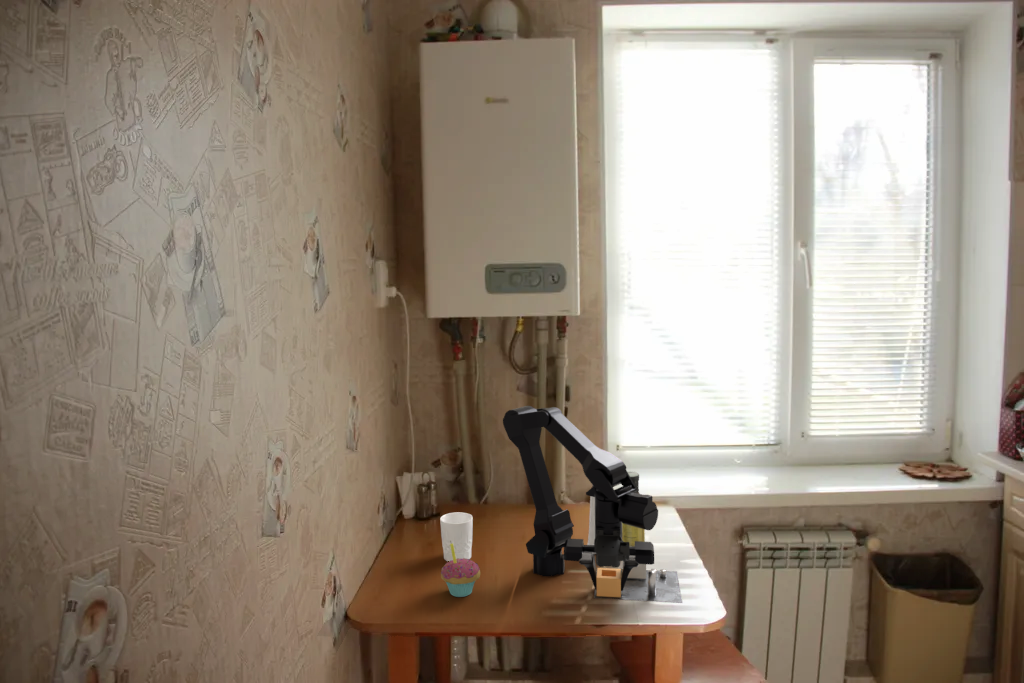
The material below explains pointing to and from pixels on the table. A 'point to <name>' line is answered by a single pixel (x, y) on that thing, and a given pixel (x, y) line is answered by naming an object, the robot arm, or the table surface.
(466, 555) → the white cup
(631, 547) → the robot arm
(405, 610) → the table surface
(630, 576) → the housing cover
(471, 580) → the cupcake
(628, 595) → the base plate
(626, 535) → the sauce bottle
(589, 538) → the cosmetic bottle
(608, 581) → the orange hollow square block
